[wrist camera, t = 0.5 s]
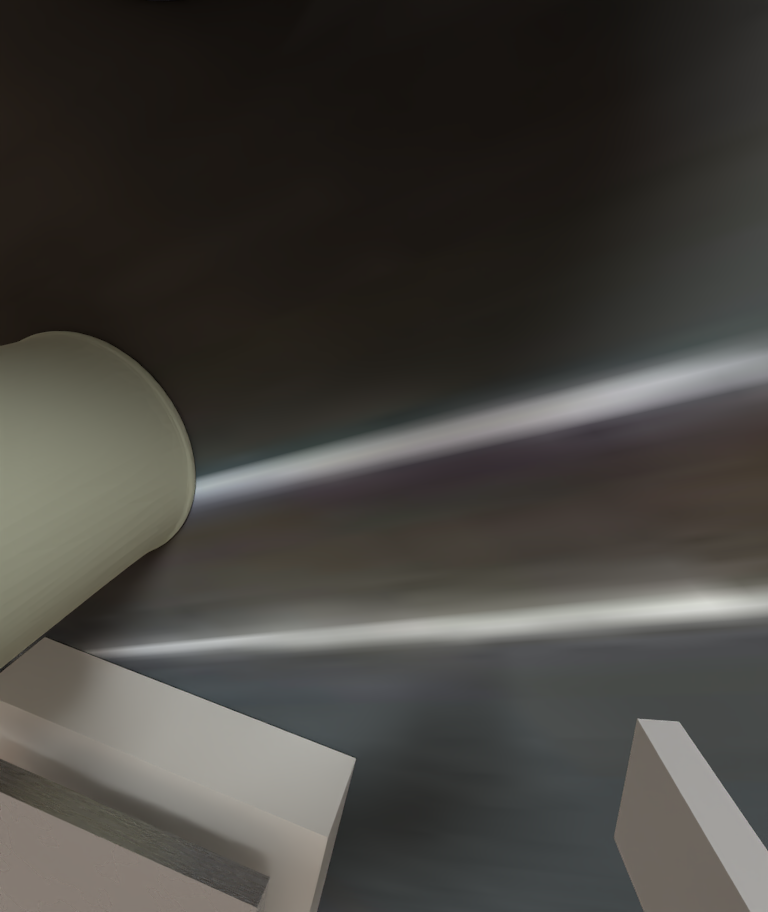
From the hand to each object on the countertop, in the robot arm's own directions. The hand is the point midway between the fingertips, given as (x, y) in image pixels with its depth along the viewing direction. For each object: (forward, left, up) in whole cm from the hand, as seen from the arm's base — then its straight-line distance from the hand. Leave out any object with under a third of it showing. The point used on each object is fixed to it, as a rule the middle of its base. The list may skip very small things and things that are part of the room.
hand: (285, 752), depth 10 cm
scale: (+19, -7, -10) cm, 23 cm away
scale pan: (+19, -9, -6) cm, 22 cm away
